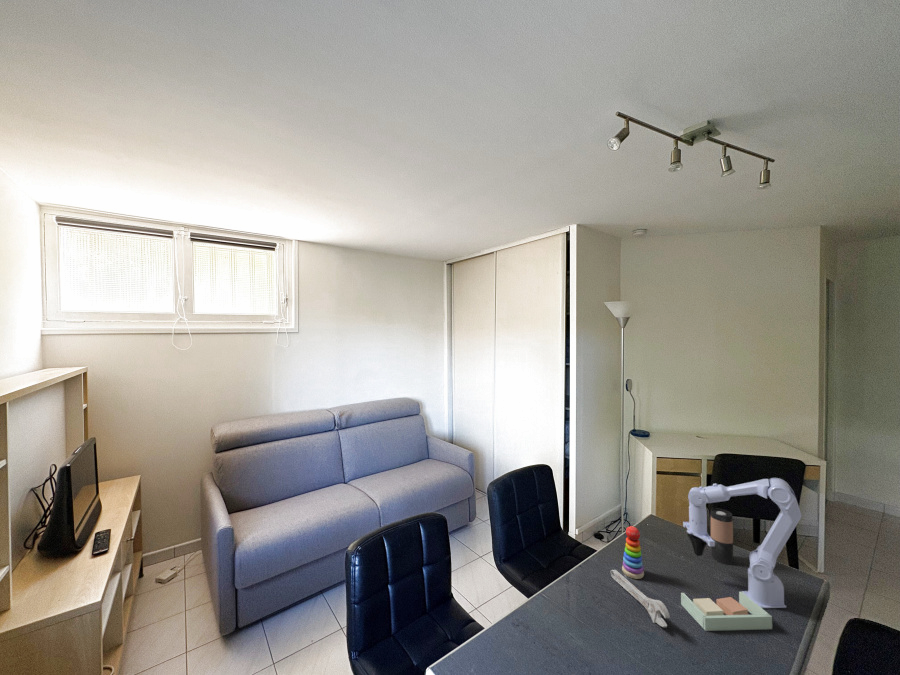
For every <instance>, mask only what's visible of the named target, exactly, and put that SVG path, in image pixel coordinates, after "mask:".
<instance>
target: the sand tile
mask: <svg viewBox="0 0 900 675" xmlns="http://www.w3.org/2000/svg"><path fill="white" fill-rule="evenodd" d="M692 602H693V603H694V604H695V605H696V606H697V607H698V608H699V609H700V610H701V611H702V612H703V613H704V614H705V615H706V616H716V615H725V613H724V611H723V610H722V609H721V608H720V607H719V606H718V605H716V603H715V601H713V600H712V599H711V598H710V597H706V598H705V597H703V598H692Z"/></svg>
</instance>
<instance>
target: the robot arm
mask: <svg viewBox="0 0 900 675" xmlns="http://www.w3.org/2000/svg"><path fill="white" fill-rule="evenodd" d="M748 495H749V496H751V495H757V496H760V497H762V498H764V499H766V500H767V499H768V497H769V499H771V501H772V502H773V503H774V504H776V506H778V508H779V510H780V512H779V513H778V515H777V517H776V518H775V520H774V522H773V524H772V525H771V527H770V529H769V530H768V532H767V534H766V536H765V537H764V539H763V541H762V543H761V544H760V545H758V546H757V547H756V548H755V549H754V550H752V551H750V552H749V554H748V559H749V567H748V568H747V579H748V580H747V590H741V592H743V593H744V594H745V595H747V596H748V597H749V598H750V599H751V600H753V601H754V602H755V603H756V604H757V605H759V606H760V607H761V608H762V609H786V608H787V607H788V606H787V605H785V587H784V583H783V582H782V581H781V579H780V578H779V577H778V576H777V575H775V574H774V569H775V567H776V564H777V559H778V557H779V556H780V554H781V552H782V550H783V549H784V547H785V545H786V544H787V543H788V540H789V539H790V537H791V535H792V534H793V531H794V530H795V529H796V527H797V525H798V524H799V522H800V520H801V519H802V517H803V516H802V512H801V508H800V506H799V503H798V500H797V497H796V495H795V492H794V490H793V488H792V487H791V486H790V485H789V483H788V482H787V481H785V480H784V479H782V478H780V477H779V478H778V477H771V478H762V479H758V480H754V481H748V482H744V483H739V484H735V485H729V486H725V485H723V484H721V483H720V484H718V483H712V485H708V486H699V487H697V486H695V487H692V488H690V490H689V491H688V496H687V498H688V505H689V506H688V521H682V527H683V528H685V529H686V533H687V537H688V538H689V540H690V543H691V545H692V548H693V552H694V555H695V556H697V557H698V556H699V557H700V556H703V554H704V552H705V551H704V550H705V548H706V546H709V547H713V546H715V541H714V540H712V538H711V535H709V533H708V517H707V514H708V513H707V506H706V504H714V503H720V502H726V501H729V500H731V499H730V498H731V497H738V496H739V497H740V496H748Z"/></svg>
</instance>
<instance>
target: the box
mask: <svg viewBox="0 0 900 675" xmlns="http://www.w3.org/2000/svg"><path fill="white" fill-rule="evenodd" d="M738 603H740V604H741V605H742V606H744V607H745V608H747V609H748V613H750V614H748V615H726V614H724V615H716V616H706V615H705V614H704V613H703V612H702V611H701V610H700V609H699V608H698V607H697V606H696V605H695V604H694V603H693V600H691V599H690V598H689V597H688V596H687V595H686V593H685V592H681V593H680V605H681V606H682V607H683V608H684V609H685V610H686V611H687V612H688V614H689V615H690V616H691V617H692V618H693V619H694V620H695V621H696V622H697V623H698V624H699V626H701V628H702V629H703V630H704V631H705V632H707V631H708V632H709V631H710V632H711V631H713V632H715V631H747V630H748V631H750V630H751V631H752V630H755V631H756V630H773V616H772V615H771V614H769V613H768V612H767V611H766V610H765V609H764V608H761V607H760V606H759V605H757V604H756V603H755V602H754V601H753V600H751V599H750V598H749V597H748V596H747V595H745V594H744V593H743V592H742V591H739V592H738Z"/></svg>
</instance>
